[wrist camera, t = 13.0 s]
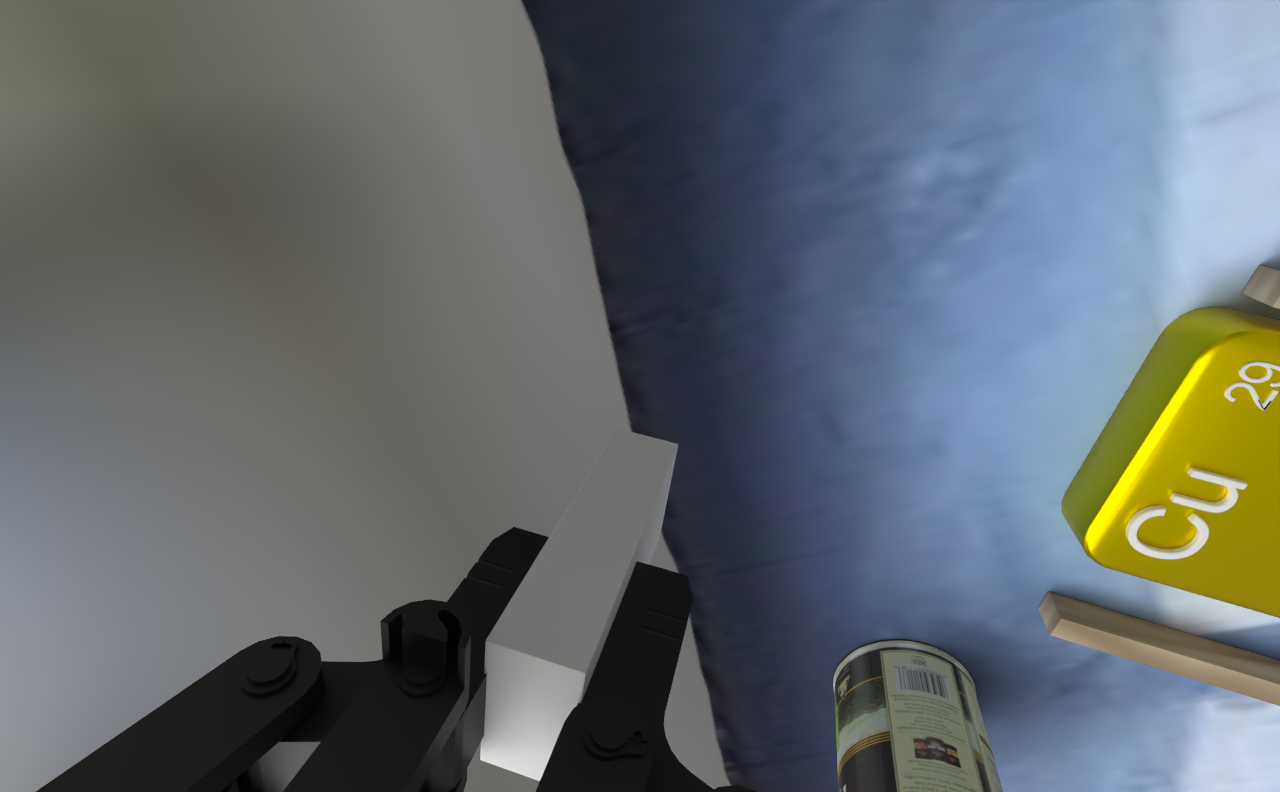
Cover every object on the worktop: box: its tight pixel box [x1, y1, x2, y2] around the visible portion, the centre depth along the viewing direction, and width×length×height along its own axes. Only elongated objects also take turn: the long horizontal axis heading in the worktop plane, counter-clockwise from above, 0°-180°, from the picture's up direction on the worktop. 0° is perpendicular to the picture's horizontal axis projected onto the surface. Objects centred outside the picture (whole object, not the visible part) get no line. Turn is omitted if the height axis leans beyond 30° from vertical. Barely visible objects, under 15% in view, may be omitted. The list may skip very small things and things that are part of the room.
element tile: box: [1062, 307, 1280, 618], centre depth 34 cm, size 15×15×5 cm
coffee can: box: [833, 640, 1003, 792], centre depth 42 cm, size 10×10×14 cm
